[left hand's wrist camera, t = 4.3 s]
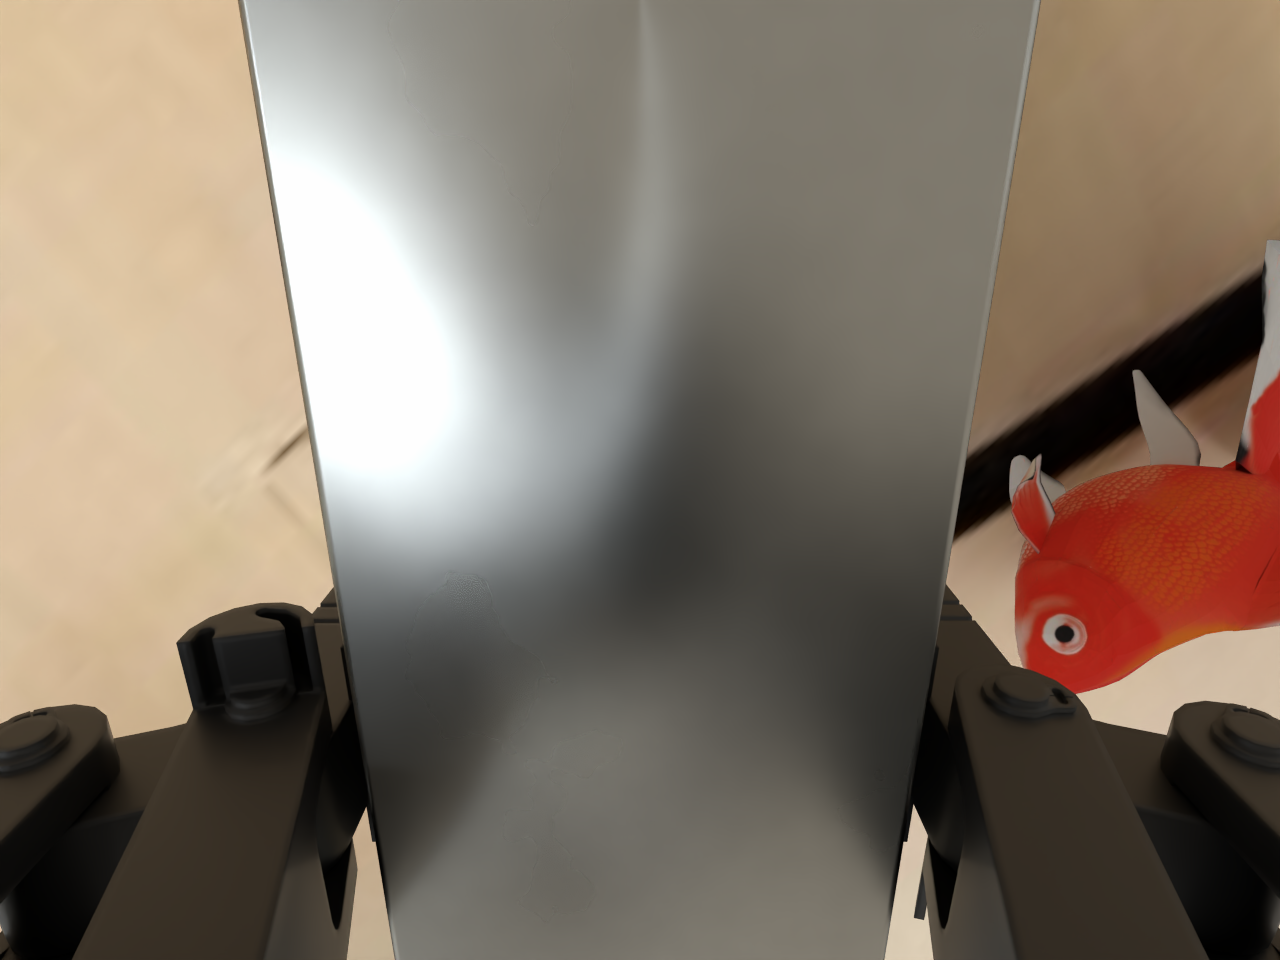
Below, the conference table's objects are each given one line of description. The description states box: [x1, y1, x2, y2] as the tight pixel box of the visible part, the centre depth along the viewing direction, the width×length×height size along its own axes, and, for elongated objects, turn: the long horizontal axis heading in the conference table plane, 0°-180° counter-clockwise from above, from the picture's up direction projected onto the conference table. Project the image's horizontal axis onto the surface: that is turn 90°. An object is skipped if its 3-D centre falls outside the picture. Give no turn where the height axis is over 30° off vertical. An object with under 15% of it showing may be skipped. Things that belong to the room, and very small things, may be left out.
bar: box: [238, 0, 1041, 960], centre depth 8 cm, size 22×5×9 cm, turn 0°
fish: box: [1009, 240, 1280, 694], centre depth 20 cm, size 11×16×10 cm
